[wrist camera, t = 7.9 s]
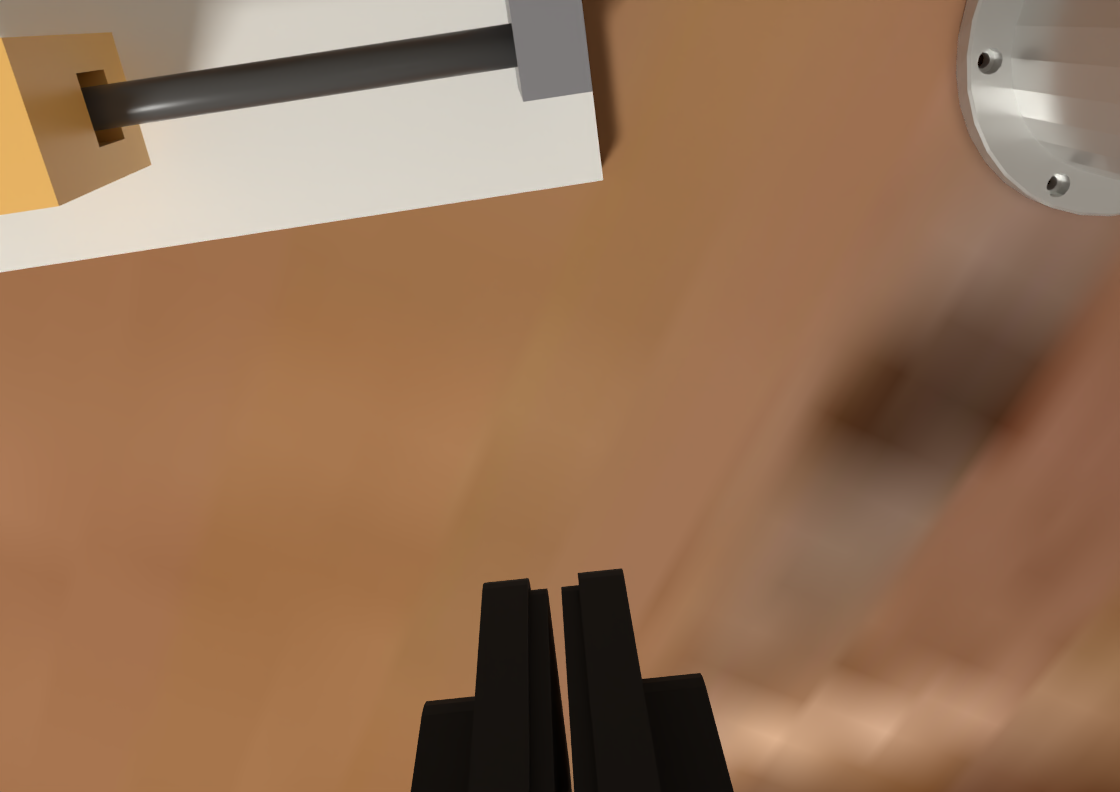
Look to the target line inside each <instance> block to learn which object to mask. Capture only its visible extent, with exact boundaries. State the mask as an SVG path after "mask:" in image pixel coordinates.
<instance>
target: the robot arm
mask: <svg viewBox="0 0 1120 792" xmlns="http://www.w3.org/2000/svg"><path fill="white" fill-rule="evenodd" d="M981 54H983V57H984V60H983V63H982V64H981V66H979V67H978V59H979V56H980V55H981ZM956 77H957V86H958V95H959V103H960V108H961V111H962V114H963V117H964V120H965V123H966V126H967V129H968V132H969V135H970V137H971V139H972V141H973V142H974V144H975V146H976V148H977V149H978V151H979V153H980V154H981V156H982V158H983V160H984V161H985V162H986V163H987V165H988V166H989V167H990V168H991V169H992V170H993V171H994V172H995V173H996V174H997V175H998V176H999V177H1000V179H1001V180H1002V181H1003V182H1004V183H1006V184H1007V185H1009V186H1010V187H1012V188H1013V189H1015V190H1016V191H1018V192H1019V193H1021V194H1022V195H1024V196H1025V197H1027V198H1029V199H1031V200H1034V201H1036V202H1039V203H1042V204H1044V205H1047V206H1049V207H1051V208H1055V209H1059V210H1063V211H1067V212H1071V213H1075V214H1078V215H1094V216H1115V215H1120V0H967V2H966V6H965V10H964V15H963V19H962V23H961V27H960V31H959V36H958V48H957V63H956ZM1050 179H1051V181H1050V184H1049V185H1048V186H1047V184H1048V181H1049V180H1050ZM578 580H579V585H576V586H567V587H561V590H562V606H563V622H564V637H565V653H566V669H567V684H568V700H569V716H570V731H571V747H572V763H573V778H574V792H734V791H733V788H732V784H731V780H730V776H729V772H728V769H727V765H726V761H725V757H724V754H723V750H722V746H721V742H720V739H719V735H718V731H717V727H716V724H715V720H714V716H713V712H712V708H711V705H710V701H709V697H708V693H707V690H706V686H705V683H704V680H703V677H702V675H701V673H697V674H687V675H677V676H667V677H658V678H648V679H642V678H641V672H640V666H639V660H638V655H637V649H636V643H635V637H634V632H633V626H632V620H631V614H630V609H629V603H628V597H627V591H626V586H625V580H624V574H623V570H622V569H613V570H603V571H593V572H584V573H578ZM411 792H572V789H571V777H570V767H569V758H568V750H567V742H566V733H565V725H564V717H563V709H562V701H561V693H560V685H559V677H558V669H557V661H556V653H555V645H554V637H553V628H552V620H551V612H550V604H549V596H548V590H547V589H538V590H531V588H530V582H529V579H528V578H526V579H517V580H507V581H497V582H488V583H484V584H483V590H482V604H481V618H480V632H479V646H478V661H477V675H476V689H475V696H474V697H464V698H455V699H445V700H435V701H427V702H426V703H425V705H424V708H423V712H422V717H421V724H420V731H419V738H418V745H417V752H416V759H415V766H414V773H413V780H412V787H411Z"/></svg>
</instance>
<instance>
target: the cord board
mask: <svg viewBox="0 0 1120 792" xmlns="http://www.w3.org/2000/svg"><path fill="white" fill-rule="evenodd" d="M105 32H112V35H113V38H114V42H115V45H116V48H117V52H118V55H119V58H120V62H121V65H122V68H123V72H124V75H125V78H126V81H124V82H117V83H111V84H104V85H97V86H91V87H84V88H81V91H82V94H83V97H84V100H85V104H86V107H87V110H88V113H89V116H90V119H91V122H92V125H93V129H94V131H98V130H105V129H111V128H118V127H124V126H131V125H138V124H139V125H140V128H141V131H142V135H143V138H144V141H145V145H146V148H147V151H148V155H149V158H150V161H151V165H150V166H148V167H146V168H143V169H141V170H139V171H137V172H134V173H132V174H130V175H128V176H125V177H123V178H121V179H119V180H116V181H114V182H112V183H110V184H108V185H105V186H103V187H101V188H99V189H96V190H94V191H92V192H90V193H87V194H85V195H83V196H81V197H78V198H76V199H74V200H72V201H69V202H67V203H65V204H63V205H61V206H57V207H50V208H44V209H37V210H30V211H24V212H17V213H11V214H4V215H0V272H5V271H12V270H18V269H25V268H31V267H38V266H44V265H51V264H57V263H64V262H71V261H77V260H84V259H90V258H97V257H103V256H110V255H116V254H123V253H129V252H136V251H143V250H149V249H156V248H162V247H169V246H175V245H182V244H188V243H195V242H201V241H208V240H215V239H221V238H228V237H234V236H241V235H247V234H254V233H260V232H267V231H273V230H280V229H287V228H293V227H300V226H306V225H313V224H319V223H326V222H332V221H339V220H345V219H352V218H358V217H365V216H372V215H378V214H385V213H391V212H398V211H404V210H411V209H417V208H424V207H430V206H437V205H444V204H450V203H457V202H463V201H470V200H476V199H483V198H489V197H496V196H502V195H509V194H516V193H522V192H529V191H535V190H542V189H548V188H555V187H561V186H568V185H574V184H581V183H588V182H594V181H601V180H603V175H602V166H601V158H600V150H599V141H598V133H597V125H596V116H595V108H594V100H593V91H592V82H591V74H590V66H589V57H588V49H587V41H586V32H585V24H584V16H583V7H582V0H0V38H3V37H23V36H44V35H64V34H85V33H105Z"/></svg>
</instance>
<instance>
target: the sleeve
mask: <svg viewBox="0 0 1120 792" xmlns="http://www.w3.org/2000/svg"><path fill="white" fill-rule="evenodd" d="M124 81H126V78H125V75H124V72H123V68H122V65H121V62H120V58H119V55H118V52H117V48H116V45H115V42H114V38H113V35H112V32H105V33H85V34H64V35H44V36H23V37H3V38H0V215H4V214H11V213H17V212H24V211H30V210H37V209H44V208H50V207H57V206H61V205H63V204H65V203H67V202H69V201H72V200H74V199H76V198H78V197H81V196H83V195H85V194H87V193H90V192H92V191H94V190H96V189H99V188H101V187H103V186H105V185H108V184H110V183H112V182H114V181H116V180H119V179H121V178H123V177H125V176H128V175H130V174H132V173H134V172H137V171H139V170H141V169H143V168H146V167H148V166H150V165H151V161H150V158H149V155H148V151H147V148H146V145H145V141H144V138H143V135H142V131H141V128H140V125H139V124H138V125H131V126H124V127H118V128H111V129H105V130H98V131H94V129H93V125H92V122H91V119H90V116H89V113H88V110H87V107H86V104H85V100H84V97H83V94H82V91H81V88H84V87H91V86H97V85H104V84H111V83H117V82H124Z"/></svg>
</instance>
